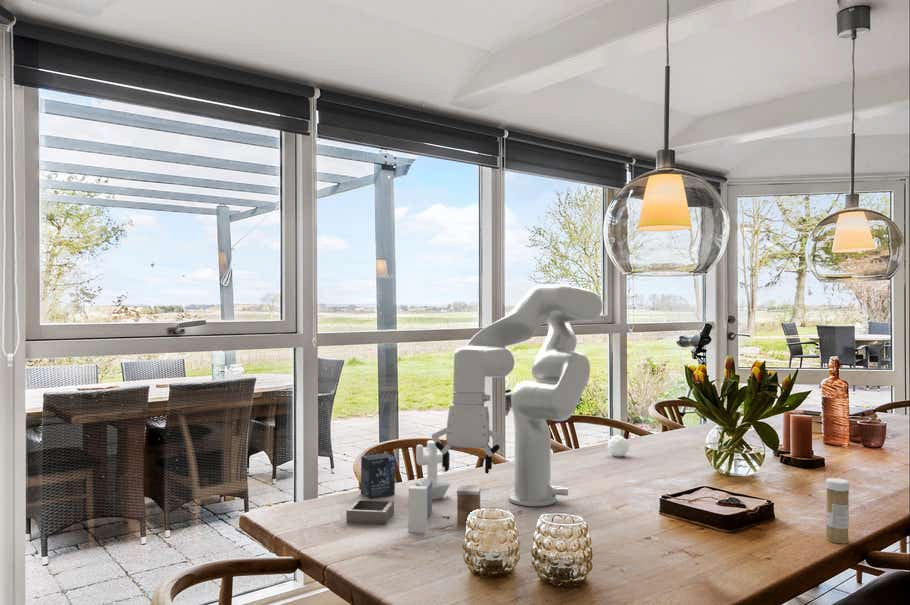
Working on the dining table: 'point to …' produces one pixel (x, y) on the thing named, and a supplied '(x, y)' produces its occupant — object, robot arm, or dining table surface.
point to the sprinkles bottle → (837, 510)
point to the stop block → (467, 502)
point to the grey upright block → (419, 506)
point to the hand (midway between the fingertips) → (466, 471)
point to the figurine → (432, 468)
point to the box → (377, 475)
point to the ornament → (618, 446)
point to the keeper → (370, 512)
